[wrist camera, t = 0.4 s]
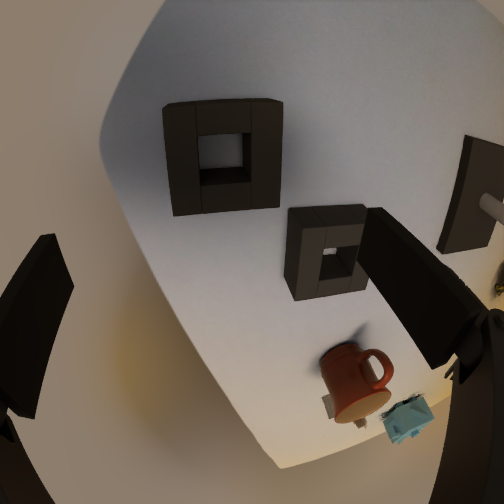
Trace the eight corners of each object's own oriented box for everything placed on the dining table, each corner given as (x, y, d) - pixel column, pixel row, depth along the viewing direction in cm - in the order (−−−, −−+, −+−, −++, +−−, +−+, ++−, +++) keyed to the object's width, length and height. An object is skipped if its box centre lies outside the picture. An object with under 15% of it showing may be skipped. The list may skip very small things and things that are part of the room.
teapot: (432, 384, 66) (449, 413, 56) (404, 413, 75) (417, 439, 66) (393, 399, 62) (410, 432, 53) (366, 427, 72) (378, 456, 63)
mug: (345, 370, 46) (367, 419, 37) (303, 371, 43) (323, 427, 35) (385, 322, 40) (417, 374, 32) (342, 319, 37) (374, 380, 29)
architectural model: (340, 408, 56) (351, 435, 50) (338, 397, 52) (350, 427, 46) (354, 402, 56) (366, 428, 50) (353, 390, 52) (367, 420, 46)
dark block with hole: (167, 103, 20) (162, 107, 16) (269, 98, 21) (283, 101, 18) (175, 196, 24) (173, 217, 21) (267, 188, 25) (280, 207, 22)
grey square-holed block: (288, 207, 27) (302, 228, 23) (362, 204, 28) (383, 222, 25) (283, 276, 31) (294, 301, 28) (349, 267, 32) (365, 289, 29)
